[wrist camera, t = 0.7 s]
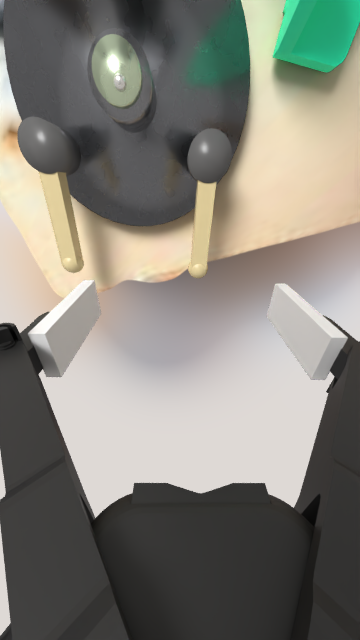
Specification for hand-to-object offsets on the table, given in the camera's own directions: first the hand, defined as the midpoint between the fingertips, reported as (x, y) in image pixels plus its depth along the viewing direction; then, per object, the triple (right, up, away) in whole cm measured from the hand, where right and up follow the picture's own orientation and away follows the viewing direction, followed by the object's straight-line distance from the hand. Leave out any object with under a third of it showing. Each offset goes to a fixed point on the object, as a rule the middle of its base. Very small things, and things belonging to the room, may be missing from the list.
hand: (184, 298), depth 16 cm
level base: (-6, +26, +11) cm, 29 cm away
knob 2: (+3, +14, +16) cm, 21 cm away
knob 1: (-16, +15, +15) cm, 27 cm away
